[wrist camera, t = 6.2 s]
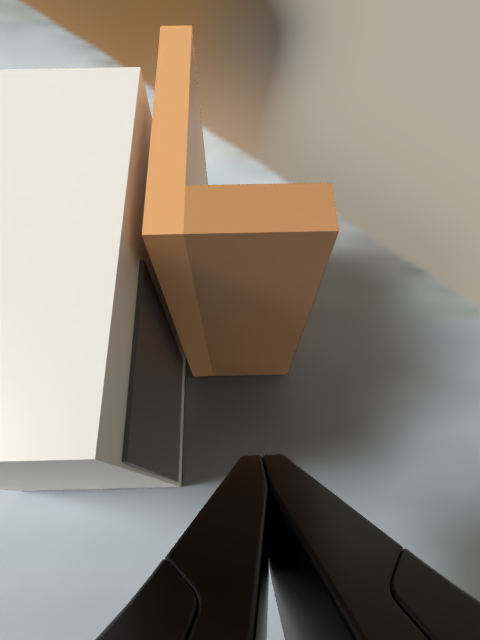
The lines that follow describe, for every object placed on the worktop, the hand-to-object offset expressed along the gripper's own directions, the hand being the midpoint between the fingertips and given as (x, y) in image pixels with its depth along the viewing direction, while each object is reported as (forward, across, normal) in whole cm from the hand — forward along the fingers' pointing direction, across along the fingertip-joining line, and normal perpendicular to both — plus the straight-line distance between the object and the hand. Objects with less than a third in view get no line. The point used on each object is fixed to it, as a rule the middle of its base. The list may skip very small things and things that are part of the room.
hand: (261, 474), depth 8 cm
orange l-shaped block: (+10, 0, 0) cm, 10 cm away
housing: (+9, -6, -2) cm, 11 cm away
